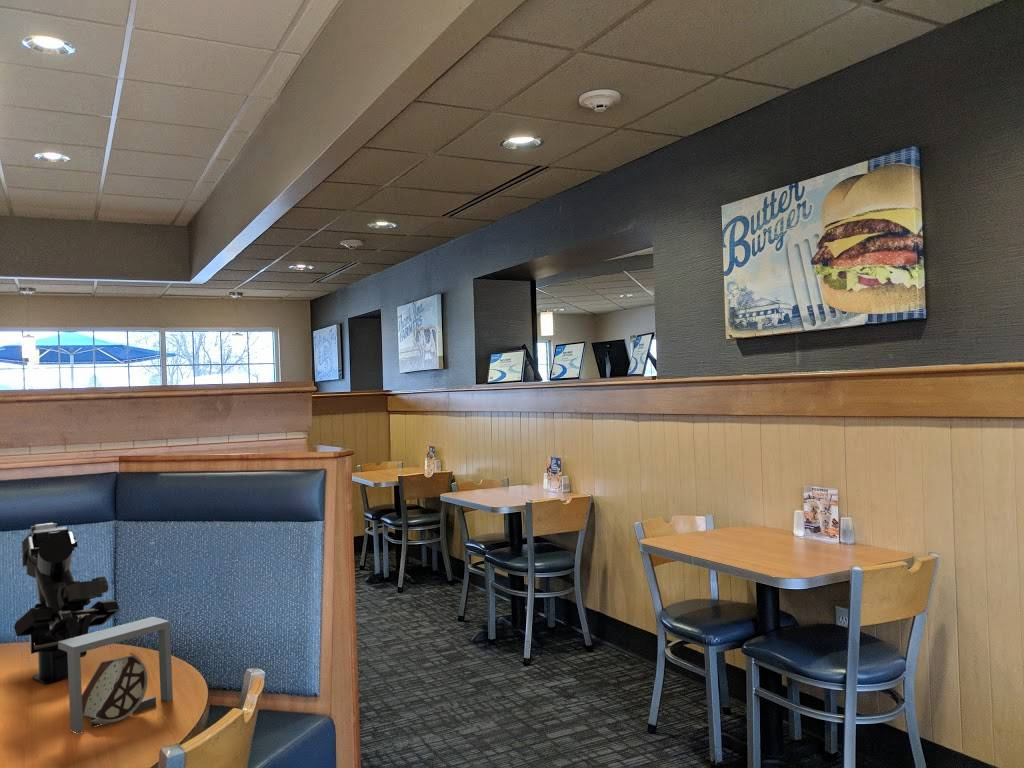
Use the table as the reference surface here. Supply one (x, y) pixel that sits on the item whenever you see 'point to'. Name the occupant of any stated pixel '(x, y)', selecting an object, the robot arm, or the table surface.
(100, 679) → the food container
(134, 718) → the table surface
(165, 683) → the overhang shelf
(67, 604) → the robot arm
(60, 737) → the table surface
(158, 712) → the table surface
